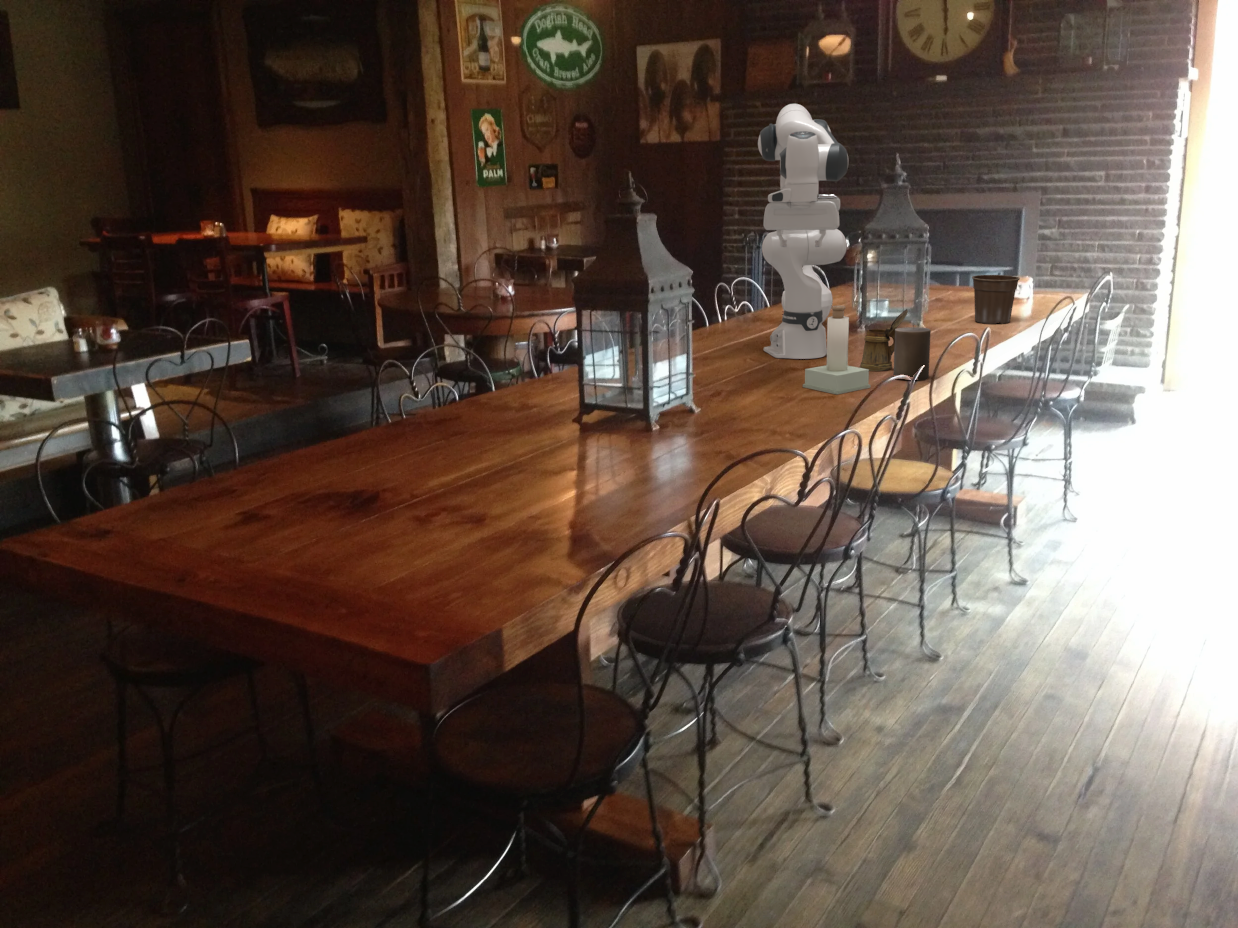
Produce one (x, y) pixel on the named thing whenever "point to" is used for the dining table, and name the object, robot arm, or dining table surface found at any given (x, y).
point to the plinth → (836, 379)
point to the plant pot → (994, 298)
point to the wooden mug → (880, 346)
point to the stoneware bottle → (837, 340)
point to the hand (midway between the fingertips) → (800, 247)
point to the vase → (826, 293)
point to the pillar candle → (912, 351)
